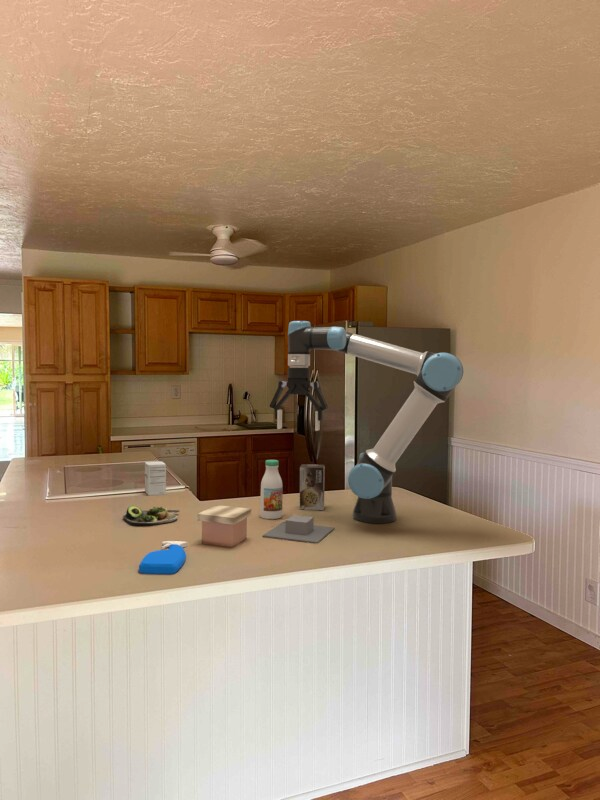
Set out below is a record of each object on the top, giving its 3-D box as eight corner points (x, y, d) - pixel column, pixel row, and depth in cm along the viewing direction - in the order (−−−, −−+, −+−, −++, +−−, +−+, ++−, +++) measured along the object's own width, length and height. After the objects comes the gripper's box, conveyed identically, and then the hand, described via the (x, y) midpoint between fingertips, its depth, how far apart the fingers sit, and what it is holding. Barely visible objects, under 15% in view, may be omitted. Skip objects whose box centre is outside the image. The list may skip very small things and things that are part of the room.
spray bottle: (178, 564, 152) (195, 538, 177) (135, 563, 152) (158, 537, 177) (178, 576, 152) (195, 548, 177) (135, 575, 152) (158, 547, 177)
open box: (246, 538, 185) (246, 515, 185) (232, 547, 176) (232, 523, 175) (217, 534, 188) (217, 512, 188) (201, 543, 179) (202, 519, 179)
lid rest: (334, 528, 197) (334, 515, 197) (317, 543, 180) (317, 529, 180) (283, 522, 203) (283, 509, 203) (262, 537, 187) (262, 522, 186)
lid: (251, 515, 185) (251, 508, 185) (234, 524, 174) (234, 517, 174) (216, 511, 189) (216, 505, 189) (197, 520, 178) (197, 513, 178)
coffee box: (324, 506, 228) (325, 464, 227) (323, 510, 222) (324, 467, 221) (300, 505, 229) (301, 463, 228) (298, 509, 223) (299, 466, 222)
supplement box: (144, 492, 248) (144, 461, 247) (162, 490, 251) (162, 460, 250) (147, 495, 241) (147, 464, 240) (166, 494, 244) (166, 463, 244)
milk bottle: (256, 517, 210) (256, 460, 209) (267, 513, 217) (268, 458, 216) (275, 520, 206) (276, 462, 205) (286, 515, 213) (287, 459, 212)
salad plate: (170, 510, 219) (171, 498, 219) (190, 521, 204) (190, 508, 204) (117, 517, 209) (117, 504, 208) (134, 529, 194) (134, 515, 193)
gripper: (260, 366, 204) (260, 428, 205) (331, 367, 196) (330, 432, 197) (268, 366, 211) (268, 426, 212) (337, 367, 203) (336, 429, 204)
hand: (298, 429), depth 205 cm, fingers open, 13 cm apart
